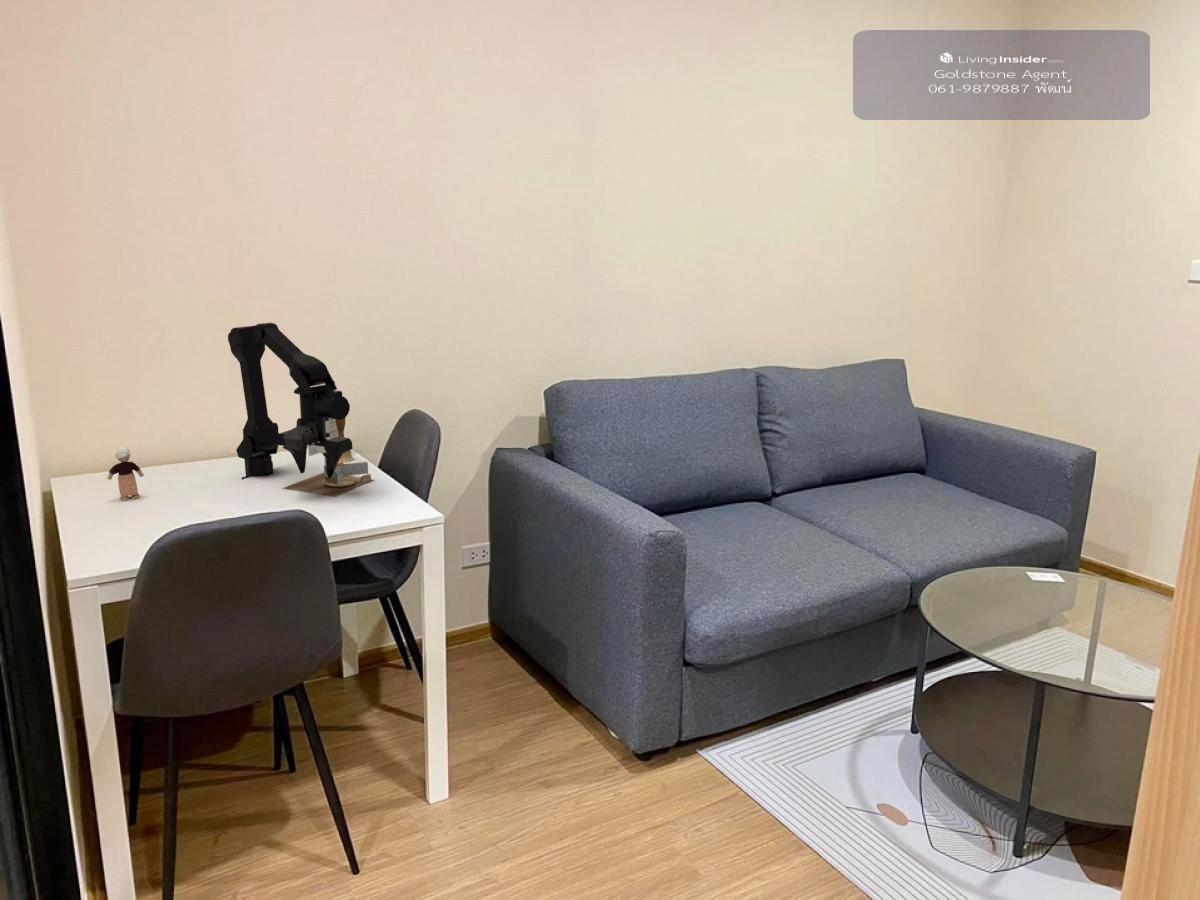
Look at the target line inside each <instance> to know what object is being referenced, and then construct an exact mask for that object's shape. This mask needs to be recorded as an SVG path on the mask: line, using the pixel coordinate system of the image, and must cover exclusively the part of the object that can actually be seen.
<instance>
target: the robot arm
mask: <svg viewBox="0 0 1200 900" xmlns="http://www.w3.org/2000/svg"><path fill="white" fill-rule="evenodd" d="M227 342H228V344H229V347H230V353H231V354H232V355H233V357H234V358H235V359H236V360H237V361H238V362H239V366H240V373H241V375H240V376H241V381H242V389H243V394H244V400H245V401H244V402H245V408H246V416H247V420H246V421H245V424H244V427H243V429H242V436H243V437H242V440H241V442H240V443H239V445H238V446H237V447H236V453H237V457H238V458H239V459H243V460H244V473H245V476H242V477H241V480H245V479H248V478H252V477H269V476H271V475H274V462H273V461H272V460H273V458H272V455H276V454H278V448H279V446H281V447H282V449H284V450H286V451H288V452H289V453H290V454H291V455H292V457H293V459H294V462H295V465H296V466H297V468H298V470H299V473H300V474H304V473H305V472H306V471H305V470H306V466H307V465H306V464H307V453H308V452H307V450H308V445H309V446H310V445H315V446H322V447H324V449H325V451H326V452H325V453H321V454H322V455H323V457H324V458H326V467H327V476H328V478H331V477H332V475H333V473H334V470H335V468H336V466H337V463H338V461H339V459H340V458H341V456H342V454H343V453H344V452H346V451H349V450H350V451H351V450H353V440H351V439H350V437H345V436H344V437H335V438H332V439H329V440H328V439H326V438H327V437H330V433H328V432H326V421H329V418H331V419H335V420H342V419H344V418H345V419H346V417H348V415H349V412H350V407H351V406H350V402H349V401H348V399H347V398H346V396H343V391H342V390H338V387H337V386H336V382H335V380H334V379H333V377H332V376H331V374H330V371H329V370H328V368H327V367H328V366H327V365H326V364H325V363H324V362H323V361H321V360H320V359H319V358H317V357H315V356H312V355H309V354H306V353H304V352H303V351H302V350H301V349H300V348H299V347H297V345H295V343H293V341H291V340H290V338H288V336H286V335H285V334H284V333H283V332H282V331H281V330H280V329H279V326H278V325H277V324H276V323H273V322H264V323H263V322H262V323H257V324H255V325H249V326H248V325H247V326H237V327H232V328H231V329H230V331H229V333H228V335H227ZM266 347H267V348H268V349H269V350H271V352H272V353H273V354H274V355H275V356H276V357H277V358H278V359H280V360H281V361H282V363H283V364H285V365H286V367H287V368H288V369H289V370H288V371H289V376H290V378H291V379H292V380H293V382H294V383H295V384H296V385H297V388H295V389H294V390H293V393H294V394H295V395H299V408H300V409H299V410H300V417H299V418H297V420H296V426H294V428H291V429H289V430H286V431H282V432H279V424H278V422H273V420H272V419H271V418H270V417H269V413H268V405H267V399H266V393H265V392H266V391H265V384H264V378H263V371H262V370H263V369H262V365H261V360H262V358H263V356H264V354H265V351H266Z"/></svg>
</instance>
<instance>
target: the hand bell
mask: <svg viewBox="0 0 1200 900" xmlns="http://www.w3.org/2000/svg"><path fill="white" fill-rule="evenodd" d="M336 426H337V429H338V437H344V438H345V427H346V417H345V418H344V419H342V420H336ZM354 461H355V458H354V457H353V455H352V452H351V450H349V451H346V452H344V453H343V454H342V456H341V458H340V459H339V461H338V463H344V464H348V463H353V462H354Z"/></svg>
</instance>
